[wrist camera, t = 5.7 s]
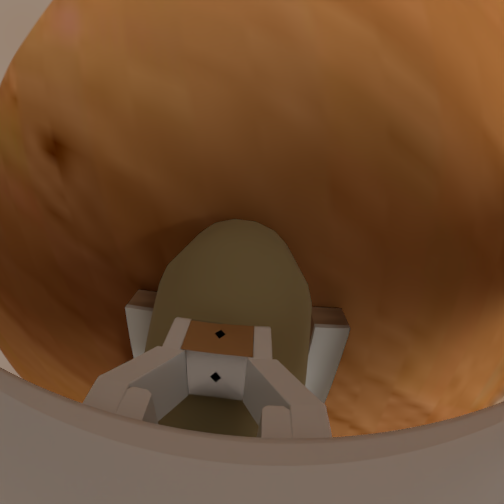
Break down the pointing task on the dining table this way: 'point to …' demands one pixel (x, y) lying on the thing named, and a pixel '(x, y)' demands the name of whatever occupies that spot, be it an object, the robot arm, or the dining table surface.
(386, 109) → the dining table surface
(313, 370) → the cradle
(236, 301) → the squeeze bottle
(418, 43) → the dining table surface
